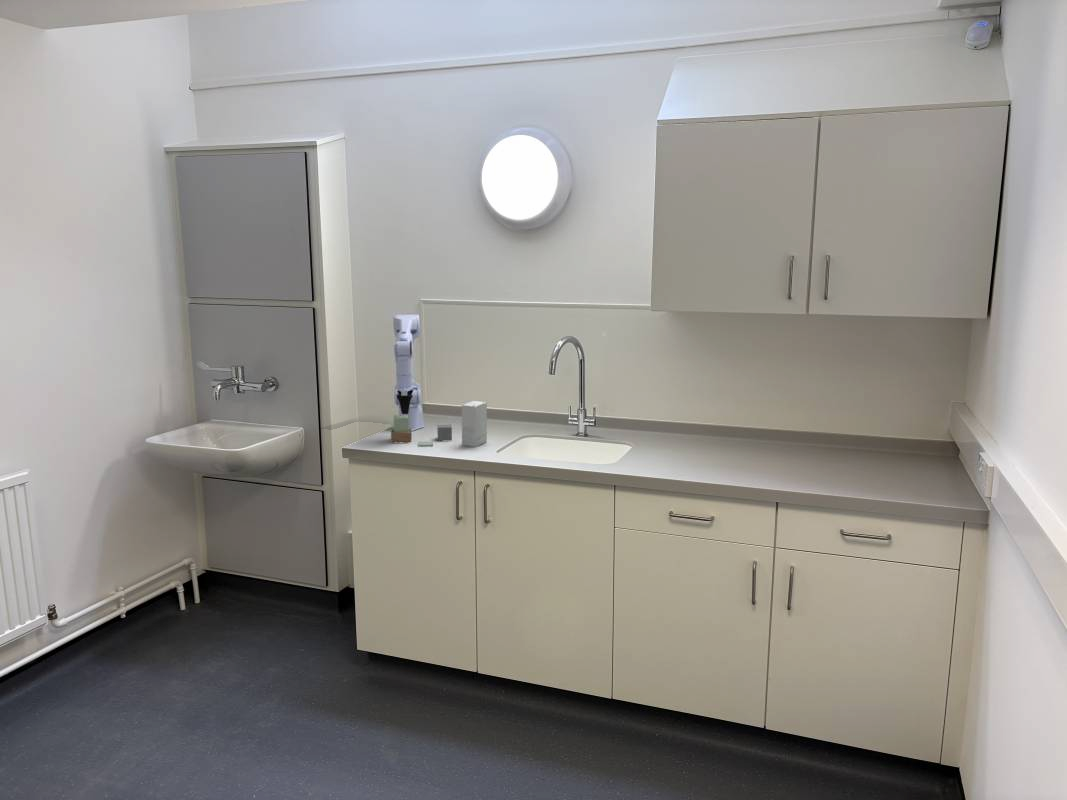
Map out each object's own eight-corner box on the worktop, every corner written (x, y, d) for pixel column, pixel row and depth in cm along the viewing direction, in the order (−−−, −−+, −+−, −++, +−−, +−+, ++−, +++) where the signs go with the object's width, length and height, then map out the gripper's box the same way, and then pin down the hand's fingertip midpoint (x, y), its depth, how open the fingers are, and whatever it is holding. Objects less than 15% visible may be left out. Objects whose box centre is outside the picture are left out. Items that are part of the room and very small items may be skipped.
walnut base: (392, 439, 284) (391, 428, 283) (411, 438, 285) (411, 428, 284) (391, 443, 277) (390, 433, 276) (411, 443, 278) (410, 432, 277)
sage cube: (394, 429, 282) (393, 415, 281) (408, 428, 283) (407, 415, 282) (394, 432, 278) (394, 418, 277) (408, 431, 278) (408, 417, 278)
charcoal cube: (437, 438, 285) (437, 424, 284) (451, 437, 286) (451, 424, 285) (437, 441, 280) (437, 427, 279) (451, 440, 281) (451, 427, 280)
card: (418, 443, 277) (418, 441, 277) (432, 442, 278) (432, 441, 278) (418, 446, 272) (418, 445, 272) (433, 446, 273) (432, 444, 273)
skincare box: (473, 440, 281) (472, 400, 278) (487, 442, 278) (487, 401, 276) (461, 445, 274) (460, 404, 271) (475, 447, 271) (475, 405, 268)
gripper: (415, 377, 271) (416, 415, 274) (416, 371, 285) (416, 407, 288) (394, 377, 270) (396, 416, 273) (396, 371, 284) (397, 408, 287)
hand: (405, 411), depth 280 cm, fingers open, 7 cm apart
